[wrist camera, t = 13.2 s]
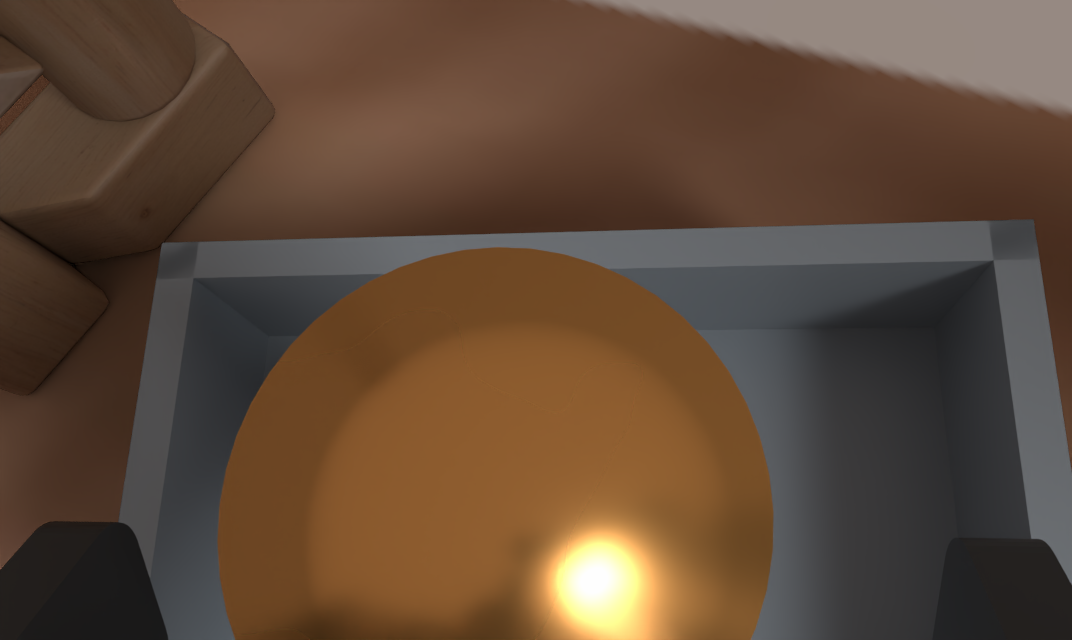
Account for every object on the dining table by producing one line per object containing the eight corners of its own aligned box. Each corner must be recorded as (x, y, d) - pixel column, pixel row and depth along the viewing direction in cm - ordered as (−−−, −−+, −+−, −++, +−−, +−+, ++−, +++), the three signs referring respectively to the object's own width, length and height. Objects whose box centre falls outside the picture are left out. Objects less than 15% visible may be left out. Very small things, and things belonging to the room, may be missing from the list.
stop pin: (693, 472, 18) (760, 241, 7) (698, 695, 17) (788, 833, 6) (487, 470, 19) (251, 251, 8) (479, 688, 18) (183, 805, 6)
